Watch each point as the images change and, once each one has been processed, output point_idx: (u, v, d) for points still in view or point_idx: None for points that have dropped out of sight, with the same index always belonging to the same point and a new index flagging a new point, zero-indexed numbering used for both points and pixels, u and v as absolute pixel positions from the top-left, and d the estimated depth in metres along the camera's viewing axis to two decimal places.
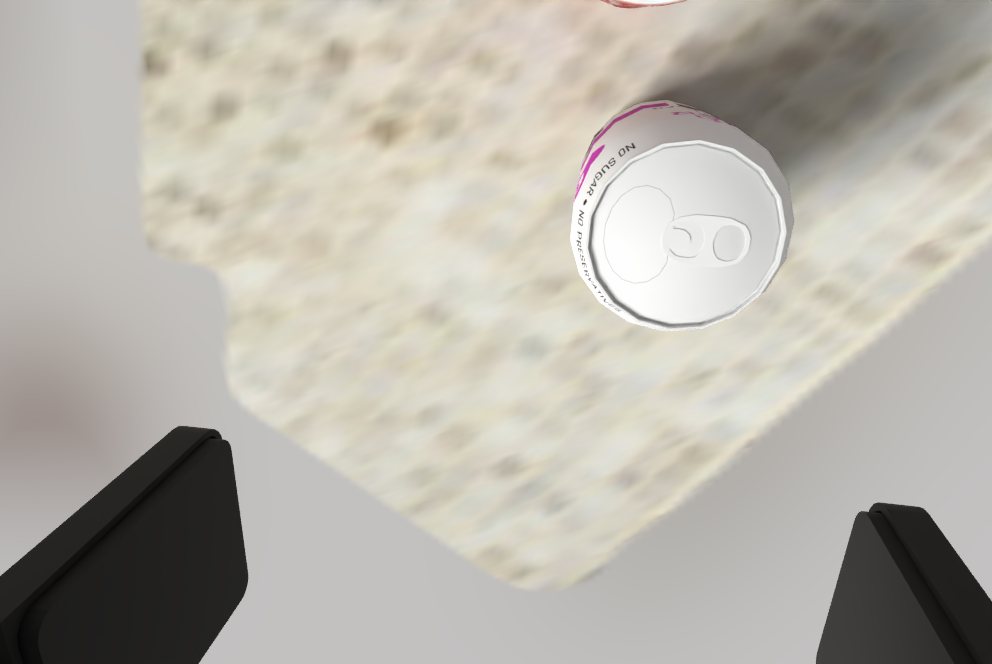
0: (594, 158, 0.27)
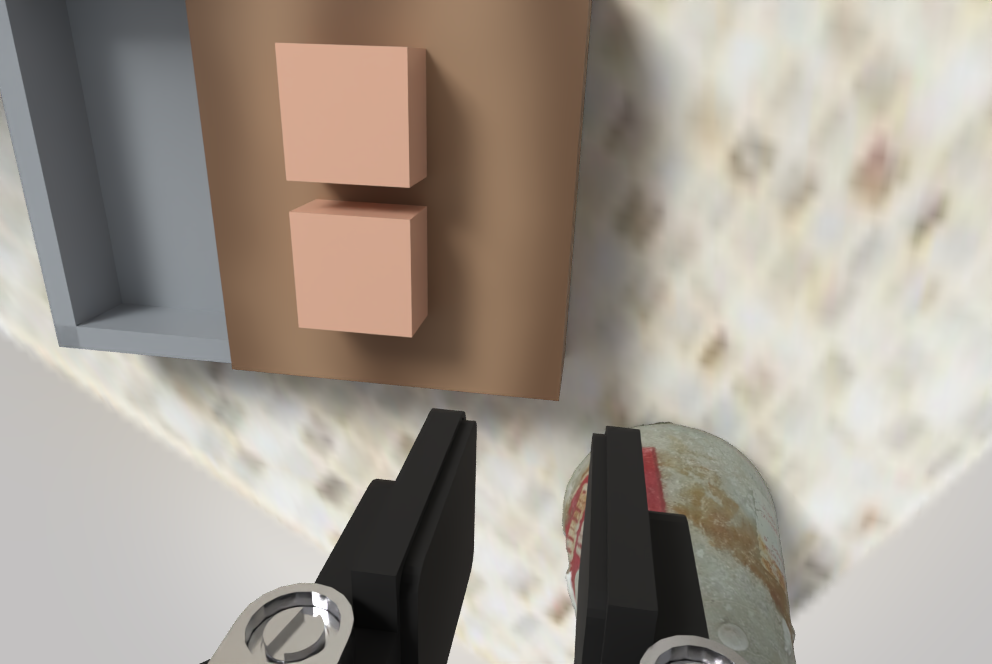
0: None
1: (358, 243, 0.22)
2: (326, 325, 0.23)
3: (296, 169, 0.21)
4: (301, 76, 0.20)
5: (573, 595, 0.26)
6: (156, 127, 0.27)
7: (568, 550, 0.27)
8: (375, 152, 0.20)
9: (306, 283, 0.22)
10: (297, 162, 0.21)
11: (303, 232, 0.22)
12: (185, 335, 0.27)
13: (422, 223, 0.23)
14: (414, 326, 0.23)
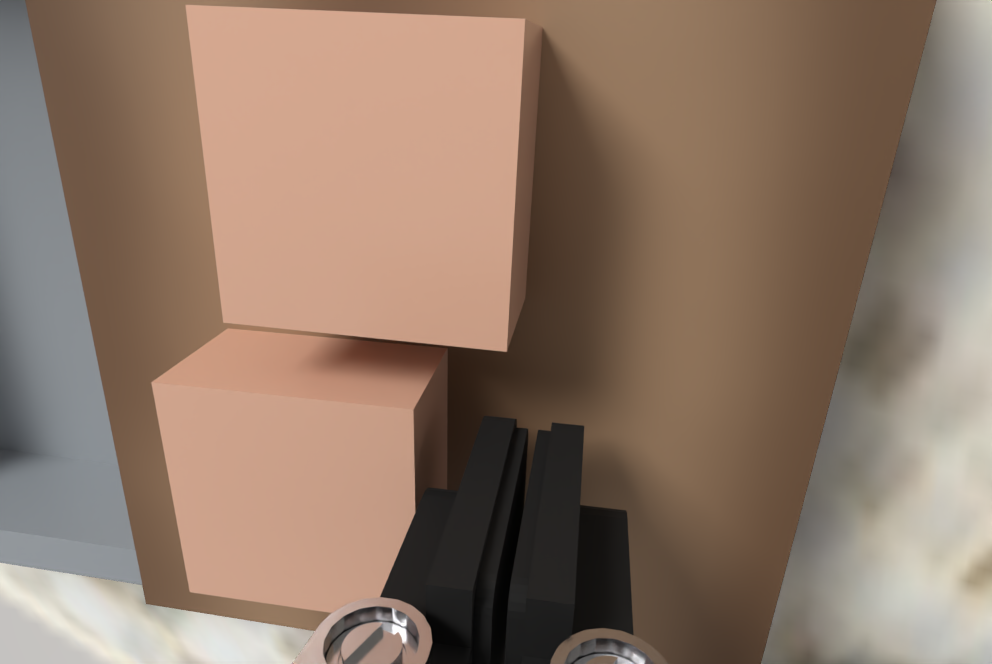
0: None
1: (302, 450, 0.10)
2: (244, 592, 0.11)
3: (245, 300, 0.09)
4: (253, 90, 0.08)
5: None
6: (17, 167, 0.15)
7: None
8: (429, 272, 0.09)
9: (199, 517, 0.11)
10: (247, 285, 0.09)
11: (184, 423, 0.10)
12: (66, 536, 0.15)
13: (439, 389, 0.11)
14: None
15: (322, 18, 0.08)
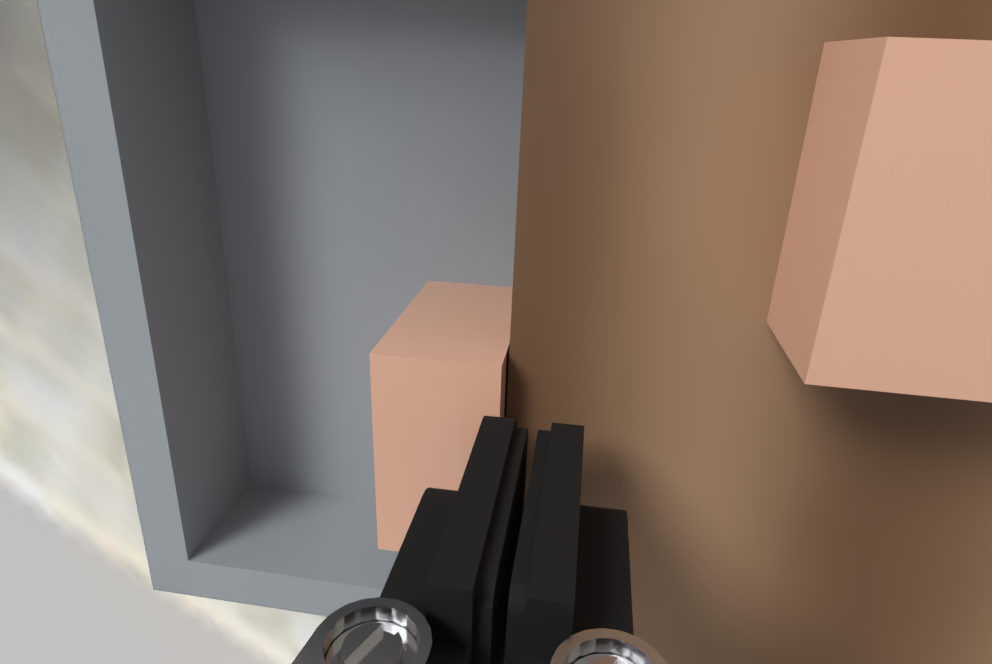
0: None
1: None
2: None
3: (841, 360, 0.08)
4: (940, 131, 0.07)
5: None
6: (347, 196, 0.14)
7: None
8: None
9: None
10: (850, 345, 0.08)
11: None
12: None
13: (461, 387, 0.11)
14: (395, 539, 0.12)
15: None
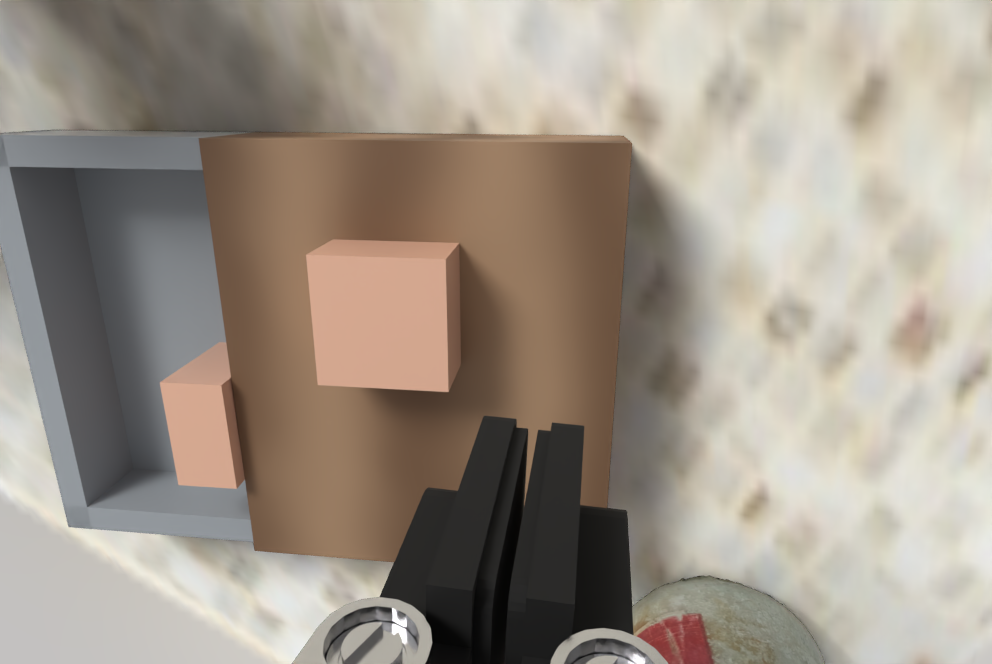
0: None
1: None
2: None
3: (328, 374, 0.20)
4: (334, 286, 0.19)
5: None
6: (170, 298, 0.26)
7: None
8: (412, 358, 0.20)
9: None
10: (329, 367, 0.20)
11: None
12: (203, 514, 0.26)
13: (204, 396, 0.23)
14: (186, 479, 0.24)
15: (363, 259, 0.19)
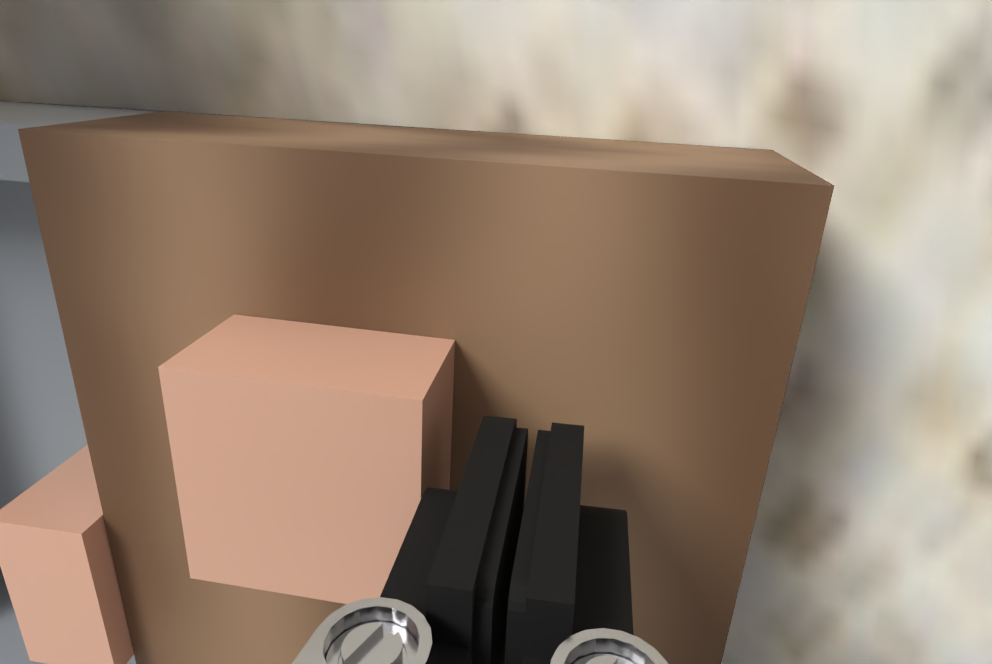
0: None
1: None
2: None
3: (208, 564, 0.11)
4: (212, 426, 0.10)
5: None
6: (40, 357, 0.17)
7: None
8: (354, 557, 0.11)
9: None
10: (209, 554, 0.11)
11: None
12: None
13: (57, 547, 0.14)
14: (41, 654, 0.15)
15: (266, 384, 0.10)
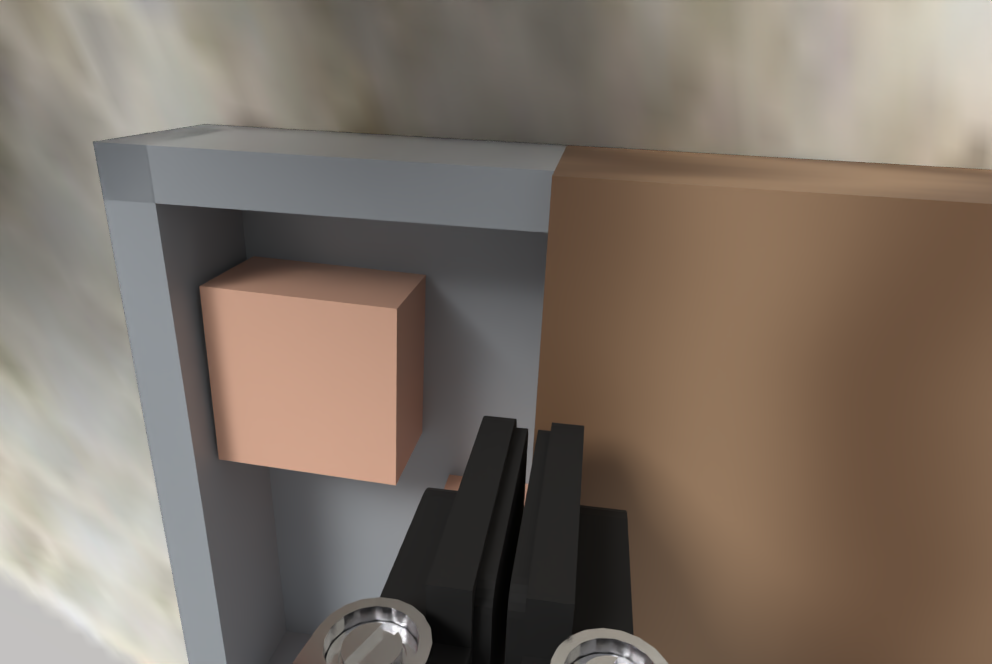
0: None
1: None
2: None
3: None
4: None
5: None
6: None
7: None
8: None
9: None
10: None
11: None
12: None
13: None
14: None
15: None
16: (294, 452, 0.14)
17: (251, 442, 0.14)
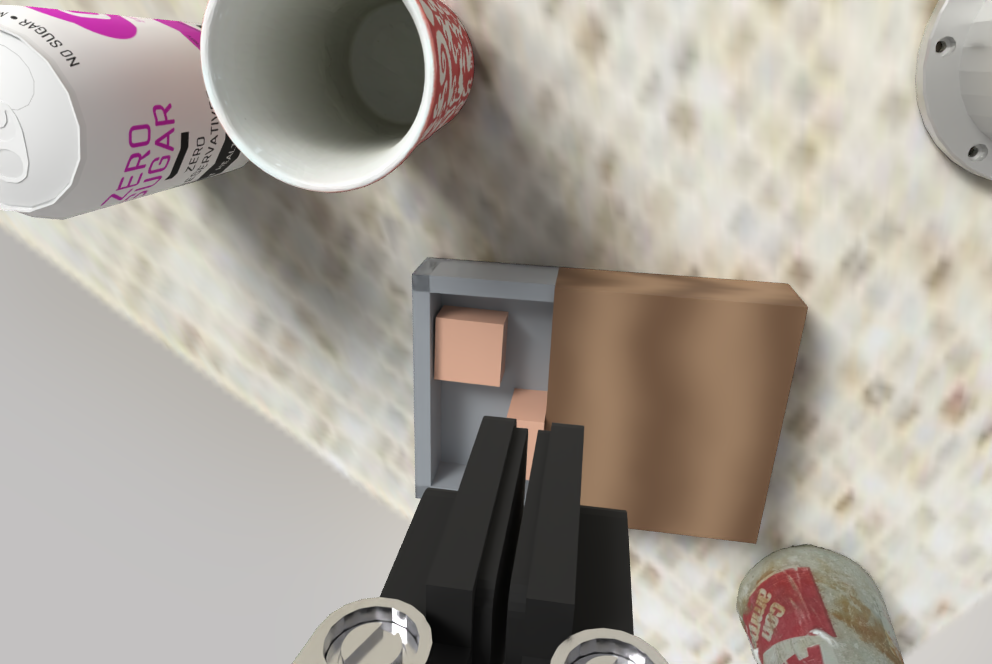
0: (94, 27, 0.27)
1: None
2: None
3: None
4: None
5: (760, 663, 0.41)
6: None
7: (752, 633, 0.42)
8: None
9: None
10: None
11: None
12: None
13: (532, 428, 0.39)
14: None
15: (481, 310, 0.41)
16: (463, 375, 0.40)
17: (447, 372, 0.40)
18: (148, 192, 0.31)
